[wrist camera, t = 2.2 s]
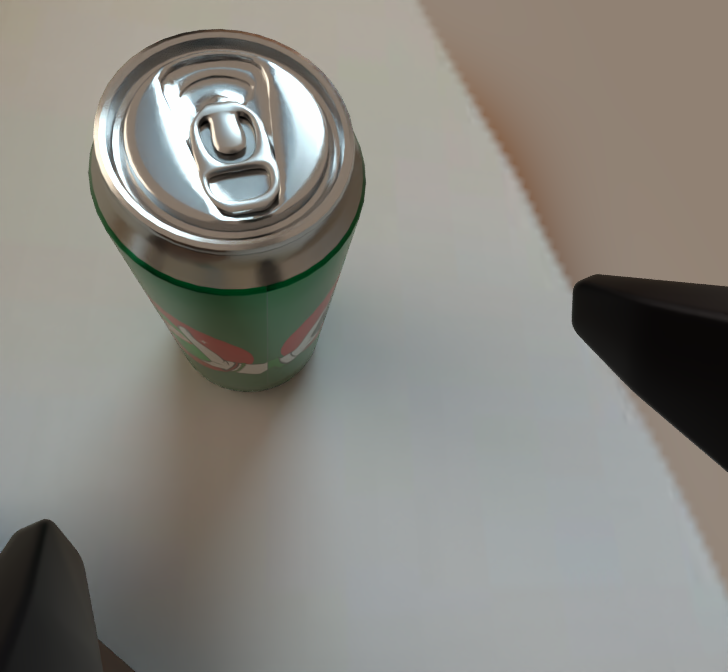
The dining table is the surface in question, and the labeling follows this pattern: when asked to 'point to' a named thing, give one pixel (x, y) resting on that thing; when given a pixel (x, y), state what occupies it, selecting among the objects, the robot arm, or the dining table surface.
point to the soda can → (230, 197)
